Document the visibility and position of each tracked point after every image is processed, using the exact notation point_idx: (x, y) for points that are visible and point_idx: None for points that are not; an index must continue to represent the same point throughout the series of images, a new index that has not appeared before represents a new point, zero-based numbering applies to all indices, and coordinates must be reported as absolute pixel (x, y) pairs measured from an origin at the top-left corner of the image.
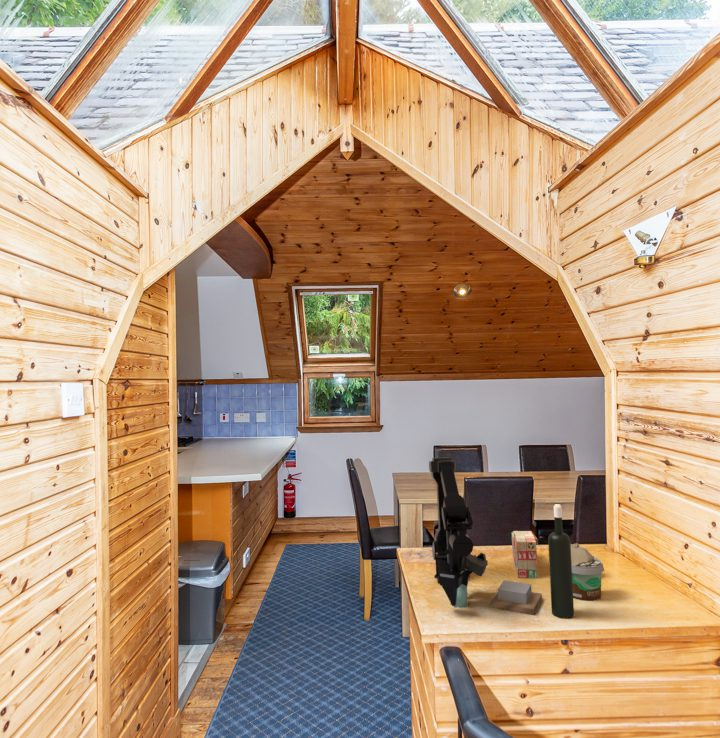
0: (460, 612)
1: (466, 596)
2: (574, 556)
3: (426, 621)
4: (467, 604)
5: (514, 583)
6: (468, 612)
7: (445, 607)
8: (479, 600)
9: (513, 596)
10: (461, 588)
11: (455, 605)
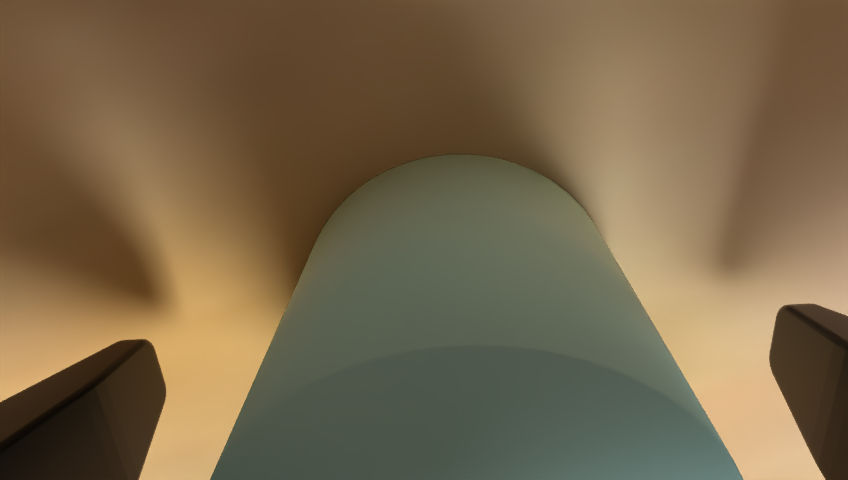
0: (811, 155)
1: (490, 229)
2: None
3: None
4: (444, 160)
5: None
6: (768, 11)
7: None
8: (78, 29)
9: None
10: (557, 477)
11: (800, 304)
